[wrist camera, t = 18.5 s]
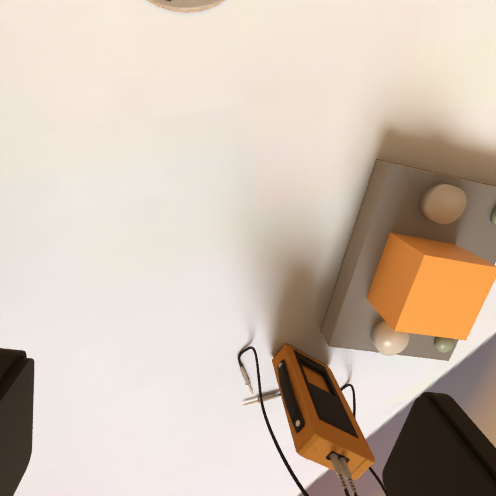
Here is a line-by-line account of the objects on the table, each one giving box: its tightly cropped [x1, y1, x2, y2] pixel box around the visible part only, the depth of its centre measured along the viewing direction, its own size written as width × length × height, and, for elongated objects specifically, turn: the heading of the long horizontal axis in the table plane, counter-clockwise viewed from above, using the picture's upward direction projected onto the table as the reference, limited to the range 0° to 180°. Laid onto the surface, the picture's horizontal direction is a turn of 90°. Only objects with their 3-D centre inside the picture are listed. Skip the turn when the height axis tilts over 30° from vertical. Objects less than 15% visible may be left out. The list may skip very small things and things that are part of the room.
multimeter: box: [238, 344, 389, 496], centre depth 35 cm, size 15×10×20 cm
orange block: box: [366, 233, 496, 340], centre depth 35 cm, size 7×7×6 cm
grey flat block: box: [321, 159, 496, 361], centre depth 38 cm, size 20×15×4 cm
